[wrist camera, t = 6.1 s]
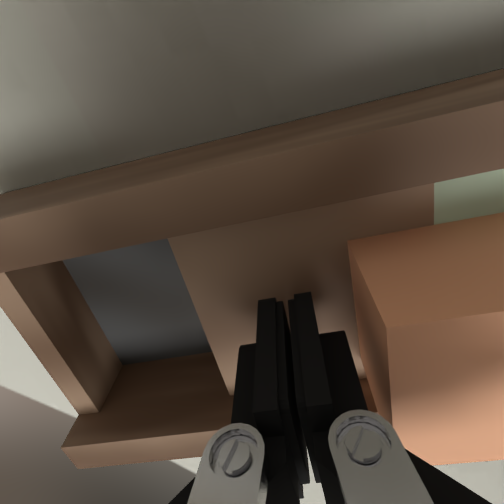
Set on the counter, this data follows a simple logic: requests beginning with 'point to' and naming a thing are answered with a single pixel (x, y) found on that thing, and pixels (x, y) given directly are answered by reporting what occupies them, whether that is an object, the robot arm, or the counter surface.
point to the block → (435, 335)
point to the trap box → (227, 254)
